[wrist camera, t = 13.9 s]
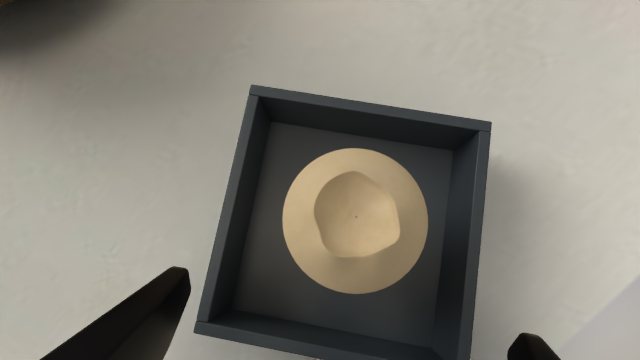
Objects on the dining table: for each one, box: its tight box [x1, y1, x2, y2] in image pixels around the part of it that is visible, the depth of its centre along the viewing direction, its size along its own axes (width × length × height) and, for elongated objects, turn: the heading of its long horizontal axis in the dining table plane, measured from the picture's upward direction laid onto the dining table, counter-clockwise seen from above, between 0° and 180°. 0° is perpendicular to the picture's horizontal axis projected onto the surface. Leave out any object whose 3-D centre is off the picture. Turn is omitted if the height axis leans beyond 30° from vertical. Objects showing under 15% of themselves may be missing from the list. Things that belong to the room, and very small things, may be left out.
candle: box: [282, 148, 428, 294], centre depth 17 cm, size 6×6×10 cm
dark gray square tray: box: [194, 85, 492, 360], centre depth 20 cm, size 13×13×4 cm
